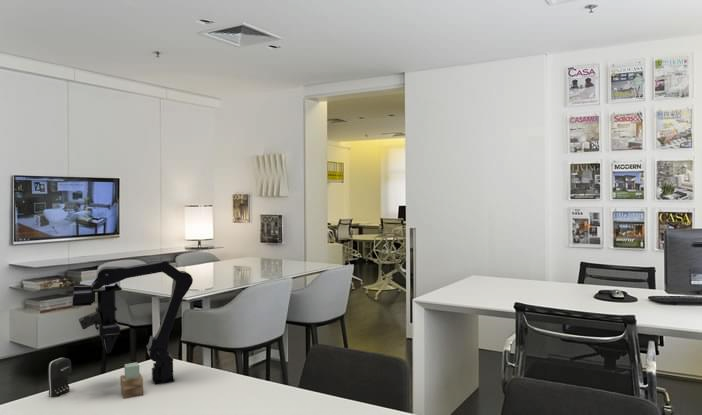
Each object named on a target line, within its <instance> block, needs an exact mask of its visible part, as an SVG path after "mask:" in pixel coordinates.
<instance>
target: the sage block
mask: <svg viewBox="0 0 702 415" xmlns="http://www.w3.org/2000/svg"><path fill="white" fill-rule="evenodd" d="M123 366H124V375H125V378H126V380H127V379H133V378H139V377H140V374H141V373H140V364H139V363H138V362H132V363H131V362H129V363H125V364H124V365H123ZM139 373H140V374H139Z"/></svg>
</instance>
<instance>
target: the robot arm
mask: <svg viewBox="0 0 702 415" xmlns="http://www.w3.org/2000/svg"><path fill="white" fill-rule="evenodd" d="M159 273H164V274H165V275H167V276H168V277H169V278H171V279H172V283H171V284H172V285H171V295H170V297H169V300H168V303H167V306H166V308H165V311H164V314H163V316H162V319H161V322H160V323H159V324H160V325H159V328H158V331H157V332H156V334H155V335H154V336H152V335H150V336H149V340H148V341H149V342H148V343H147V345H146V348H147V350H146V351H147V354H148V356H149V358H150V360H151V361H152V362H153V366H152V367H151V380H152V382H153V383H154V384H155V385H158V384H164V383H165V384H166V383H170V382H175V378H174V358H173V356H172V354H171V353H170V352H169V351H168V349H169V340H170V334H171V332H172V329H173V327H174V323H175V321H176V318H177V315H178V312H179V309H180V307H181V303H182V301H183V299H184V297H185V296H186V295H187V293H188V292H189V290H190V288H191V286H192V285H193V282H194V280H193V277H192V275H191V274H190V273H189V272H188V271H184V270H179V269H178V268H176V267H175V266H174V265H171V264H170V263H169V262H168V261H167V260H165V259H164V260H163V259H160V260H158V261H153V262H146V263H141V264H135V265H129V266H104V267H101V268H100V269H99V270H98V271H97V274H96V276H97V277H96V278H95V280H94V281H93V282H92V284H91V285H74V286H73V294H72V307H73V308H75V307H76V308H77V307H89V306H93V305H92V304H94V303H97V306H96V308H95V311H94V312H92V313H89V314H87V315H84V316H82V317H80V318H78V322H79V325H80V327H81V328H82V330H86V329H88V328H90V327H91V326H94V328H95V329H96V331H98V335H99V337H100V338H101V342H102V345H103V346H102V347H103V348H105V351H106V355H109V354H111V353H112V350H113V349H114V346H115V343H116V341H117V339H118V337H119V335H120V333H121V326H120V325H119V324H118V323H117V322H118V320H117V310H118V309H117V294H116V293H117V292H118V291H119V292H120V291H122V289H123V288H122V287H121V286H120V285H119V284H118V283H119V282H121V281H123V280H126V279H130V278H136V277H140V276H141V277H142V276H146V275H152V274H159ZM103 287H104V288H103ZM96 293H97V294H96ZM96 295H97V298H96ZM96 299H97V300H96ZM96 301H97V302H96Z"/></svg>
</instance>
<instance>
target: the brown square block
mask: <svg viewBox="0 0 702 415" xmlns="http://www.w3.org/2000/svg"><path fill="white" fill-rule="evenodd" d="M139 374H140V377H139V378H133V379H127V380H126V378H125V374H123V375H120V387H122V389H123V390H128V389H133V388H139V387H143V388H144V378H143V376H142V374H141V372H139Z"/></svg>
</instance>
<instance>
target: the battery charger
mask: <svg viewBox="0 0 702 415" xmlns="http://www.w3.org/2000/svg"><path fill="white" fill-rule="evenodd" d="M47 366H48V368H47V379H48V380H47V381H48V382H47V383H48V396H49V397H59V396H61V395H63V394H66V393H68V392H69V391H70V386H69V382H68V381H69V379H68V376H69V374H71V373H72V361H71V359H70V358H67V357H59V358H56V359H54V360H52V361H49V363H48V365H47Z"/></svg>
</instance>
